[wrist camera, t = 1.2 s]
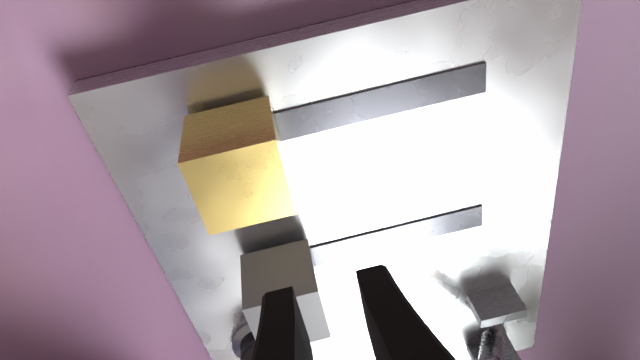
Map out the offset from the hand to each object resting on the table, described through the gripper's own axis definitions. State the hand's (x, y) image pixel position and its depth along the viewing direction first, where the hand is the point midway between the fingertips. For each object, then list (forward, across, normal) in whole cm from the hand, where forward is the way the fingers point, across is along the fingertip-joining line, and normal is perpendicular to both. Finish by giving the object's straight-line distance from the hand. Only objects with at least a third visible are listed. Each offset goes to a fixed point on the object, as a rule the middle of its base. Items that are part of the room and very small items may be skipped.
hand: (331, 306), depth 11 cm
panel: (+10, -2, +8) cm, 13 cm away
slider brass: (+8, +2, 0) cm, 9 cm away
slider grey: (+8, +2, +7) cm, 11 cm away
